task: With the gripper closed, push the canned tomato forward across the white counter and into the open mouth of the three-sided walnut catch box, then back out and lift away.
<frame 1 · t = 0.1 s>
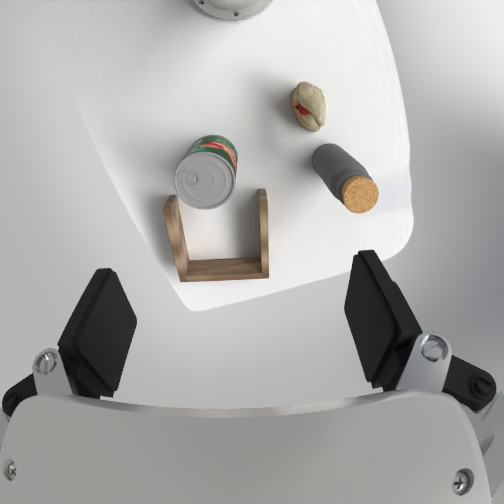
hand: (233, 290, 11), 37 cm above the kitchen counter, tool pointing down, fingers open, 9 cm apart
canned tomato: (213, 157, 44), on the kitchen counter
bottle: (329, 159, 44), on the kitchen counter
chocolate bunny: (306, 106, 39), on the kitchen counter
catch box: (220, 227, 51), on the kitchen counter
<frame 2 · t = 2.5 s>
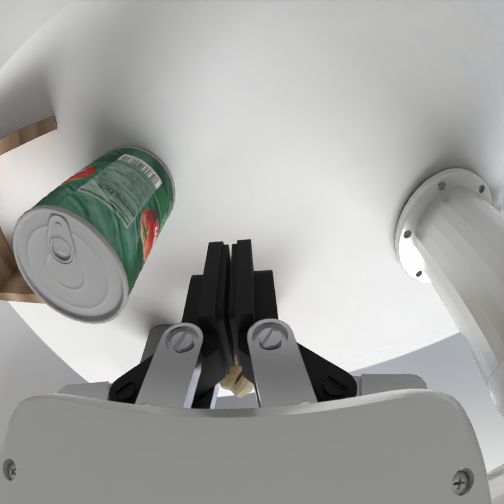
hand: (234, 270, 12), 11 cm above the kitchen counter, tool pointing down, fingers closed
canned tomato: (131, 190, 22), on the kitchen counter
bottle: (172, 338, 33), on the kitchen counter
chocolate bunny: (242, 315, 30), on the kitchen counter
catch box: (29, 210, 22), on the kitchen counter
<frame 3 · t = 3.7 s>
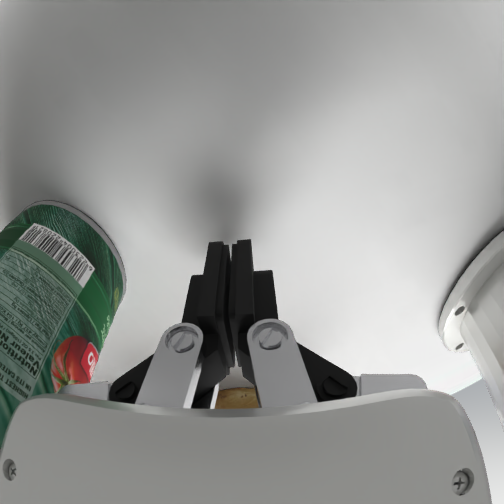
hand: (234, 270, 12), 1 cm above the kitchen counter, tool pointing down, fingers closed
canned tomato: (66, 261, 13), on the kitchen counter
chocolate bunny: (236, 397, 22), on the kitchen counter
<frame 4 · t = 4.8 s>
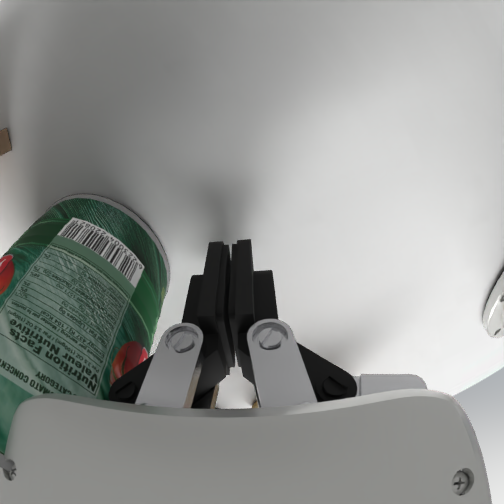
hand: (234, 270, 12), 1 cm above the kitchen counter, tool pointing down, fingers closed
canned tomato: (100, 260, 13), on the kitchen counter, touching gripper
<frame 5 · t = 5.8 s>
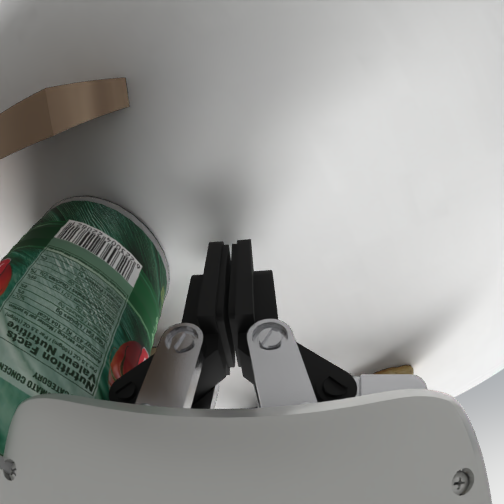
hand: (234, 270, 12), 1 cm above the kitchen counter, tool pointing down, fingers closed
canned tomato: (99, 262, 13), on the kitchen counter, touching gripper
catch box: (54, 266, 13), on the kitchen counter
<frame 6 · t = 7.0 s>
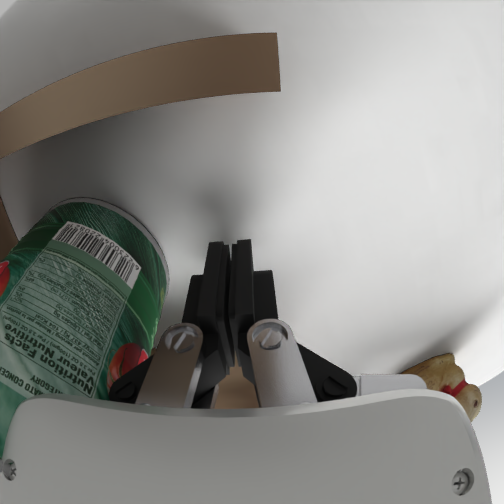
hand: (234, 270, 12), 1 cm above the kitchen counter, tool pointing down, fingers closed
canned tomato: (99, 264, 13), on the kitchen counter, touching gripper
chocolate bunny: (421, 369, 21), on the kitchen counter
catch box: (125, 261, 13), on the kitchen counter
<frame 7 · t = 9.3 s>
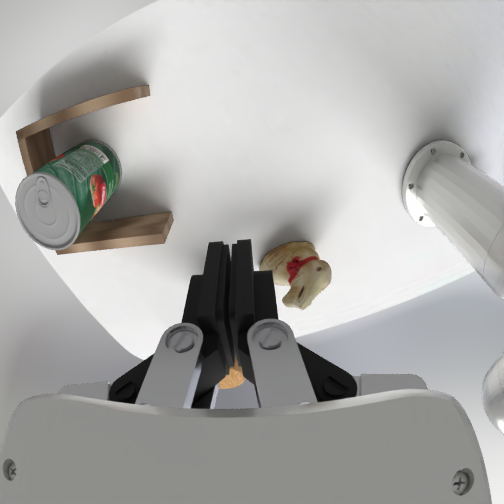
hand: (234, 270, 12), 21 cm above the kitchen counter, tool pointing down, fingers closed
canned tomato: (93, 170, 29), on the kitchen counter
bottle: (225, 284, 40), on the kitchen counter
chocolate bunny: (289, 255, 37), on the kitchen counter
catch box: (105, 166, 29), on the kitchen counter
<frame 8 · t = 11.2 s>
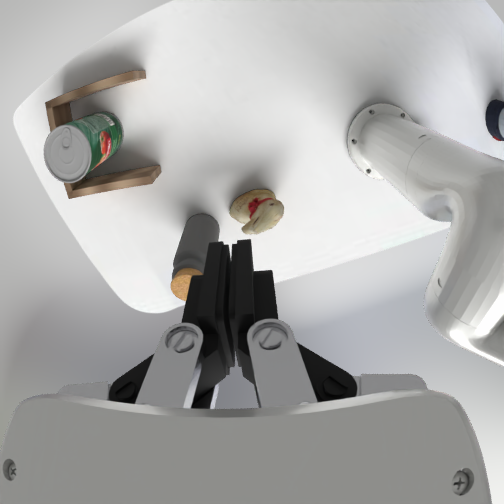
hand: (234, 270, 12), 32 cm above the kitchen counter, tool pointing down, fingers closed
canned tomato: (102, 134, 37), on the kitchen counter
bottle: (202, 228, 48), on the kitchen counter
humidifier: (496, 118, 34), on the kitchen counter
chocolate bunny: (254, 202, 45), on the kitchen counter
catch box: (111, 131, 37), on the kitchen counter
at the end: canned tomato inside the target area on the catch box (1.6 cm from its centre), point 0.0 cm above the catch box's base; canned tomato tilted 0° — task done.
